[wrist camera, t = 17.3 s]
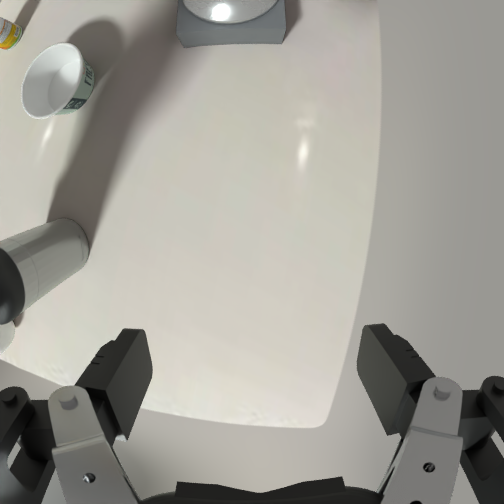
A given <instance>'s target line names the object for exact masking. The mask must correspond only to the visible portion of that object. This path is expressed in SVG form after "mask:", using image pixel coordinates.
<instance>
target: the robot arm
mask: <svg viewBox="0 0 504 504" xmlns="http://www.w3.org/2000/svg"><path fill="white" fill-rule="evenodd" d="M88 253H89V247H88V241H87V238H86V235H85V233H84V231H83V230H82V228H81V227H80V226H79V225H78V224H77V223H76V222H74V221H72V220H70V219H66V218H62V219H58V220H55V221H52V222H49V223H46V224H43V225H41V226H38V227H35V228H32V229H30V230H27V231H25V232H22V233H19V234H17V235H14V236H12V237H9V238H7V239H4V240H2V241H0V325H3V324H7V323H9V322H11V321H12V320H13V319H15V318H16V317H17V316H18V315H20V314H21V313H22V312H23V311H25V310H26V309H27V308H28V307H30V306H31V305H32V304H34V303H35V302H36V301H37V300H39V299H40V298H41V297H43V296H44V295H45V294H47V293H48V292H49V291H51V290H52V289H54V288H55V287H56V286H58V285H59V284H60V283H62V282H63V281H65V280H66V279H67V278H69V277H70V276H72V275H73V274H75V273H76V272H77V271H79V270H80V269H81V268H82V267H83V266H84V265H85V263H86V261H87V258H88ZM152 371H153V368H152V361H151V357H150V352H149V347H148V343H147V338H146V333H145V331H144V330H143V329H127V328H124V329H123V330H122V331H121V333H120V334H119V336H118V337H117V338H116V340H115V341H114V340H111V341H109V342H108V343H107V344H105V345H104V346H102V347H101V348H100V350H99V351H98V352H97V354H96V355H95V357H94V358H93V359H92V361H91V364H89V365H88V366H87V368H86V369H85V371H84V372H83V374H82V375H81V377H80V378H79V379H78V381H77V382H76V384H75V385H74V386H65V387H62V388H59V389H57V390H56V391H55V392H53V393H52V394H51V396H50V397H49V399H48V400H30V398H29V396H28V394H27V392H26V391H25V390H24V389H23V388H21V387H8V388H6V389H4V390H2V391H1V392H0V504H41V503H42V500H43V497H44V495H45V492H46V490H47V487H48V485H49V482H50V480H51V477H52V475H53V473H54V470H55V468H56V470H57V474H58V477H59V481H60V484H61V487H62V490H63V494H64V497H65V500H66V502H67V504H449V503H450V500H451V496H452V492H453V488H454V484H455V480H456V476H457V471H458V467H459V462H460V464H461V466H462V468H463V470H464V472H465V474H466V476H467V478H468V480H469V482H470V484H471V486H472V488H473V491H474V493H475V495H476V497H477V500H478V502H479V504H504V458H503V456H502V455H501V453H500V452H499V450H498V448H497V447H496V445H495V443H494V442H493V440H492V438H491V436H492V435H493V433H494V432H495V430H496V431H497V432H498V434H499V436H500V437H501V439H502V440H503V442H504V378H503V377H499V376H491V377H488V378H486V379H485V380H484V381H483V383H482V386H481V388H480V390H462V389H461V387H460V386H459V385H458V384H457V383H456V382H455V381H453V380H451V379H448V378H444V377H436V376H435V375H434V373H432V371H431V370H430V368H429V367H428V366H427V365H426V363H425V362H424V361H423V360H422V358H421V357H419V355H418V353H417V352H416V351H415V350H414V348H413V347H412V346H411V345H410V344H409V342H408V341H407V340H405V339H403V338H402V337H400V336H398V335H393V333H392V332H391V331H390V330H389V328H388V327H387V326H386V325H385V324H383V323H382V324H372V325H365V326H364V328H363V330H362V336H361V342H360V347H359V352H358V358H357V371H358V375H359V377H360V379H361V381H362V383H363V385H364V387H365V389H366V391H367V393H368V395H369V398H370V400H371V402H372V404H373V406H374V408H375V410H376V412H377V415H378V417H379V419H380V421H381V423H382V425H383V427H384V430H385V432H386V434H387V436H388V435H392V434H396V433H400V436H401V439H400V441H399V443H398V445H397V448H396V450H395V453H394V455H393V457H392V460H391V462H390V464H389V467H388V469H387V471H386V473H385V476H384V478H383V480H382V482H381V484H380V486H379V488H378V489H377V491H376V492H374V491H370V490H368V489H363V488H358V487H350V486H345V485H344V481H343V478H342V477H336V478H330V479H322V480H314V481H307V482H301V483H297V484H294V485H291V486H287V487H284V488H280V489H276V490H272V491H269V492H264V493H255V492H250V491H245V490H240V489H235V488H230V487H226V486H222V485H218V484H200V483H188V482H187V483H186V482H177V486H176V491H175V492H168V493H162V494H158V495H155V496H151V497H149V498H146V499H144V500H141V499H140V497H139V496H138V494H137V492H136V491H135V489H134V487H133V485H132V484H131V482H130V480H129V478H128V476H127V475H126V472H125V471H124V469H123V467H122V465H121V463H120V461H119V459H118V457H117V455H116V453H115V451H114V449H113V447H112V446H113V443H114V441H115V440H120V441H126V442H127V440H128V438H129V435H130V432H131V430H132V427H133V424H134V422H135V419H136V417H137V414H138V411H139V409H140V406H141V404H142V401H143V399H144V396H145V394H146V391H147V389H148V386H149V384H150V381H151V379H152ZM16 442H17V443H18V444H19V445H20V447H21V449H20V451H19V452H18V454H17V456H16V458H15V460H14V462H13V464H12V466H11V468H10V469H8V465H7V458H8V456H9V454H10V452H11V451H12V449H13V447H14V445H15V443H16Z"/></svg>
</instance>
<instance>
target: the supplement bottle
mask: <svg viewBox="0 0 504 504" xmlns="http://www.w3.org/2000/svg"><path fill="white" fill-rule="evenodd" d="M21 35H22V28H21V27H20V26H19V25H16V24H14V23H12V22H10V21H8V20H6V19H4V18H1V17H0V48H2V49H5V50H9V49H12V48H13V47H14V46H15V45H16V44H17V43H18V41H19V40H20V38H21Z"/></svg>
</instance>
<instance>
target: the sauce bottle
mask: <svg viewBox="0 0 504 504" xmlns="http://www.w3.org/2000/svg"><path fill="white" fill-rule="evenodd" d="M14 335H15V325H14V322H13V320H12V321H11V322H9V323H7V324H3V325H0V355H1V354H2V353H3V352H4V351H6V350H7V349H8V347H9V346H10V344H11V343H12V341H13V339H14Z"/></svg>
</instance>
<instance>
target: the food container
mask: <svg viewBox="0 0 504 504" xmlns="http://www.w3.org/2000/svg"><path fill="white" fill-rule="evenodd" d="M93 86H94V73H93V70H92V68H91V67H90V65H89V64H88V63H87V62H86V61H85V60H84V59H83V57H82V54H81V52H80V50H79V49H78V48H77V47H76V46H75V45H73V44H71V43H66V42H62V43H57V44H54V45H52V46H50V47H48V48H46V49H45V50H44V51H42V52H41V53H40V54H39V55H38V56H37V57H36V58H35V59H34V61H33V62H32V63H31V65H30V66H29V68H28V70H27V72H26V74H25V76H24V79H23V83H22V88H21V101H22V105H23V108H24V110H25V111H26V113H27V114H28V115H29V116H31V117H33V118H36V119H45V118H49V117H51V116H53V115H62V114H69V113H72V112H74V111H76V110H78V109H79V108H80V107H81V106H82V105H83V104H84V103H85V102H86V101H87V99H88V98H89V96H90V94H91V92H92V89H93Z"/></svg>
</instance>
